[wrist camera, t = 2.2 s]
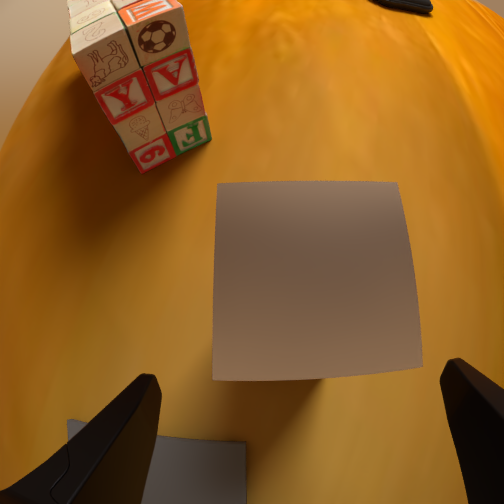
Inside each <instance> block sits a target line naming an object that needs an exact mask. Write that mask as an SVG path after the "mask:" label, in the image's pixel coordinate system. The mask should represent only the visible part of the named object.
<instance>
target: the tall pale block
mask: <svg viewBox="0 0 504 504" xmlns="http://www.w3.org/2000/svg"><path fill="white" fill-rule="evenodd" d="M419 367H423V360H422V341H421V327H420V316H419V306H418V297H417V288H416V280H415V273H414V266H413V260H412V253H411V247H410V242H409V236H408V231H407V225H406V220H405V215H404V211H403V206H402V201H401V197H400V193H399V188H398V184H397V182H369V181H272V182H241V183H219V184H217V203H216V226H215V253H214V287H213V350H212V380H219V381H278V380H304V379H321V378H335V377H347V376H358V375H367V374H376V373H384V372H392V371H399V370H406V369H413V368H419Z"/></svg>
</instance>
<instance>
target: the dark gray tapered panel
mask: <svg viewBox="0 0 504 504" xmlns="http://www.w3.org/2000/svg"><path fill="white" fill-rule="evenodd" d="M86 424H88V423H86V422H82V421H78V420H74V419H69V420H67V428H68V441H69V440H70V439H71V438H72V437H73V436H75V435H76V434H77V433H78V432H79V431H80V430H81V429H82V428H83V427H84V426H85V425H86ZM141 504H247V490H246V442H237V441H213V440H198V439H186V438H176V437H167V436H159V435H157V438H156V443H155V448H154V452H153V456H152V460H151V464H150V468H149V472H148V476H147V480H146V485H145V489H144V493H143V498H142V502H141Z"/></svg>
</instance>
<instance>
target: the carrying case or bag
mask: <svg viewBox="0 0 504 504" xmlns="http://www.w3.org/2000/svg"><path fill="white" fill-rule="evenodd" d="M377 1H378V2H379V3H380V4H382V5H384V6H387V7H392V8H398V9H403V10H409V11H414V12H418V13H423V14H426V13H428V12H431V11H432V10H433V5H432V4H431V2H430V0H377Z"/></svg>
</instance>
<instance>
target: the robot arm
mask: <svg viewBox="0 0 504 504" xmlns="http://www.w3.org/2000/svg"><path fill="white" fill-rule="evenodd" d="M440 386H441V391H442V395H443V400H444V405H445V410H446V415H447V420H448V424H449V427H450V431H451V434H452V438H453V441H454V445H455V448H456V452H457V456H458V460H459V464H460V468H461V472H462V476H463V480H464V485H465V489H466V494H467V499H468V504H504V389H503V388H501V387H500V386H498V385H497V384H496V383H494V382H493V381H492V380H490V379H489V378H488V377H486V376H485V375H483V374H482V373H481V372H479V371H478V370H476V369H475V368H474V367H472V366H471V365H470V364H468V363H467V362H465V361H464V360H463V359H461V358H454V359H450V360H448V361H447V363H446V365H445V368H444V370H443V372H442V374H441V376H440ZM161 400H162V393H161V389H160V387H159V384H158V381H157V378H156V376H155V375H153V374H145V373H143V374H140V375H139V376H138V377H137V378H136V379H135V380H134V381H133V382H132V383H130V384H129V385H128V386H127V387H126V388H125V389H124V390H123V391H122V392H121V393H120V394H119V395H118V396H117V397H116V398H114V399H113V400H112V401H111V402H110V403H109V404H108V405H107V406H106V407H105V408H104V409H103V410H102V411H100V412H99V413H98V414H97V415H96V416H95V417H94V418H93V419H92V420H91V421H90V422H89V423H88V424H86V425H85V426H84V427H83V428H82V429H81V430H80V431H79V432H78V433H77V434H76V435H75V436H73V437H72V438H71V439H70V440H69V441H68V442H67V444H65V445H64V446H62V447H61V448H60V449H59V450H58V451H57V452H56V453H55V454H53V455H52V456H51V457H50V458H49V459H48V460H46V461H45V462H44V463H42V464H41V465H40V466H39V467H37V468H36V469H34V470H33V471H32V472H30V473H29V474H27V475H26V476H25V477H23V478H22V479H20V480H19V481H17V482H16V483H15V484H13V485H12V486H10V487H8V488H6V489H4V490H1V491H0V504H141V502H142V498H143V493H144V489H145V485H146V480H147V476H148V472H149V468H150V464H151V460H152V456H153V452H154V448H155V443H156V438H157V431H158V423H159V415H160V407H161Z"/></svg>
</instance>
